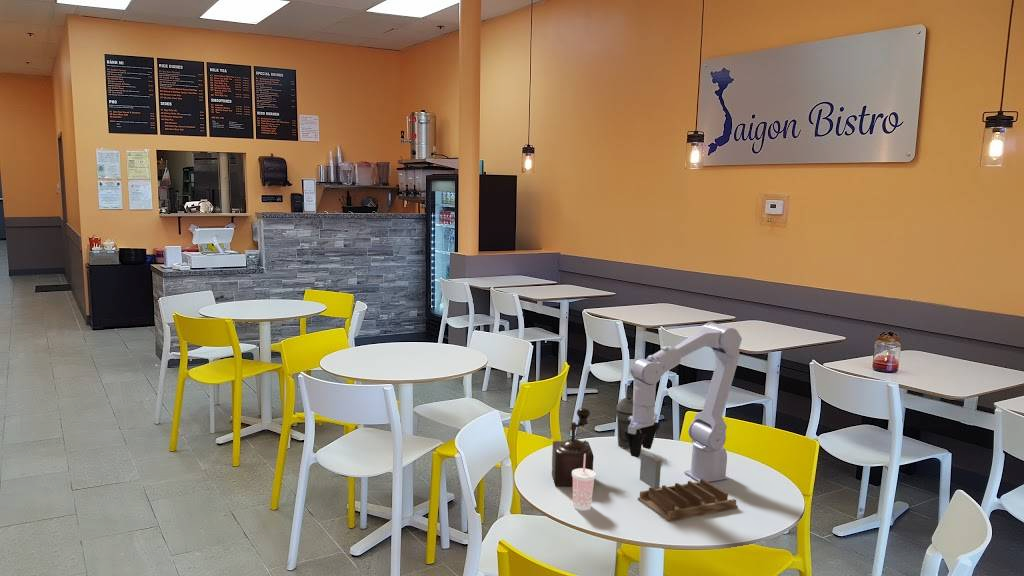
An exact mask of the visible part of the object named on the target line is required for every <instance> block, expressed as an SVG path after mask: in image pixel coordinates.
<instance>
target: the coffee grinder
mask: <svg viewBox="0 0 1024 576" xmlns="http://www.w3.org/2000/svg"><path fill="white" fill-rule="evenodd" d="M576 415H577V417H578V418H579V420H578V422H577V423H576V422H575V421H572V422H571V424H570V426H569V429H570V430H571V437H570V439H566V440H558V441H557V440H554V441H552V449H551V451H552V452H551V453H552V454H551V455H552V456H551V459H552V460H551V477H552V481H553V480H554V481H553V483H554V486H555V487H559V488H573V477H572V471H573V470H574V469H578V468H583V463H584V454H586V460H585V469H590V470H592V471H594V454H593V453H594V452H593V450H592V448H591V445H590V442H589V441H586V440H580V439H578V438H577V439H576V430H577V428H579V427H584V426H585V425H589V422H588V419H589V417H590V416H591V411H590V410H589V409H588V408H586V407H581V408H579V409H577V411H576Z"/></svg>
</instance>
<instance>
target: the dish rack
mask: <svg viewBox="0 0 1024 576" xmlns="http://www.w3.org/2000/svg"><path fill="white" fill-rule="evenodd" d="M637 501H638V502H640V503H642V504H643V505H645V506H646V507H647V508H649V510H651V511H652V512H654V513H656V514H657V515H658V516H660V517H661V518H662V519H664V520H665V521H666V522H673V521H677V520H683V519H688V518H694V517H698V516H704V515H710V514H715V513H720V512H724V511H729V510H733V509H735V510H736V509H738V505H737V499H736V498H731V499H729V493H727V492H725V491H724V490H723V489H721V488H719V487H717V486H716V485H715V484H713V483H710V482H707V481H706V480H704V479H700V482H699V481H695V482H693V481H691V480H688V481H687V483H683V484H681V483H678V482H675V484H674V485H672V486H667V485H666V484H665V485H664V484H663V485H661V487H659V488H658V489H653V488H652V487H648V490H642V491H639V497H637Z"/></svg>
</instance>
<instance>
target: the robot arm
mask: <svg viewBox="0 0 1024 576" xmlns="http://www.w3.org/2000/svg"><path fill="white" fill-rule="evenodd" d="M742 339H743V338H742V336H741V335H740V333H739V331H738V330H737V329H736V328H734V327H729V326H726V325H721V324H718V323H716V322H714V321H709V322H707V323H705V324H704V325H702V326H701V325H700V327H699V328H698V330H697V331H696V332H695V333H694V334H692V335H690V336H689V337H687V338H686V339H685V340H683V341H681V342H680V343H678V344H677V345H675V346H671V345H667V346H666V345H664V346H662V347H661V349H660V350H658V351H657V352H655V353H653V354H649V355H648V356H647V358H639V359H638V360H635V362H634V363H633V364H632V368H630V374H631V376H632V378H633V384H634V385H633V398H632V399H633V416H630V417H628V420H631V423H630V425H629V426H628V429H626V430H625V431H624V434H625V436H626V438H627V440H628V443H629V447H630V448H629V453H630V456H631V457H634V458H639V457H641V450H642V448H643V449H648V450H651V448H652V447H653V443H654V439H655V437H656V433H657V431H658V429H659V428H660V427H661V424H660V423H659V422H656V421H657V420H658V419H657V418H658V417H657V416H658V414H657V413H655V407H656V393H657V392H656V389H657V383H658V382H659V381H660V379H662V376H663V375H664V374H665V373H667V372H669V371H670V370H672V369H673V368H675V367H677V366H678V365H680V364H681V360H682V358H684V357H686V356H688V355H690V354H692V353H694V352H696V351H698V350H700V349H703V348H704V347H707V348H710V349H712V351H713V352H714V355H715V356H716V363H715V366H714V370H713V374H712V377H711V380H710V384H709V387H708V391H707V394H706V398H705V402H704V404H703V407H702V408H703V409H702V411H701V410H700V411H699V412H698V413H696V414H695V415H694V418H693V420H692V422H691V423H690V424H689V427H688V436H689V437H690V439H691V444H692V452H691V465H690V469H688V470H684V471H683V472H684V474H686V475H687V476H689V477H691V478H692V479H694V480H695V481H696V482H700V479H704V480H706V481H707V482H709V483H710V482H715V481H717V482H718V481H722V480H727V479H728V476H726V475H727V464H728V453H727V450H726V448H725V447H724V446H725V443H726V440H727V436H726V433H727V432H726V431H727V423H726V422H725V420H724V418H723V414H724V411H725V408H726V404H727V401H728V397H729V393H730V391H731V387H732V383H733V380H734V377H735V373H736V369H737V367H738V363H739V359H740V346H741V344H742Z"/></svg>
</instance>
